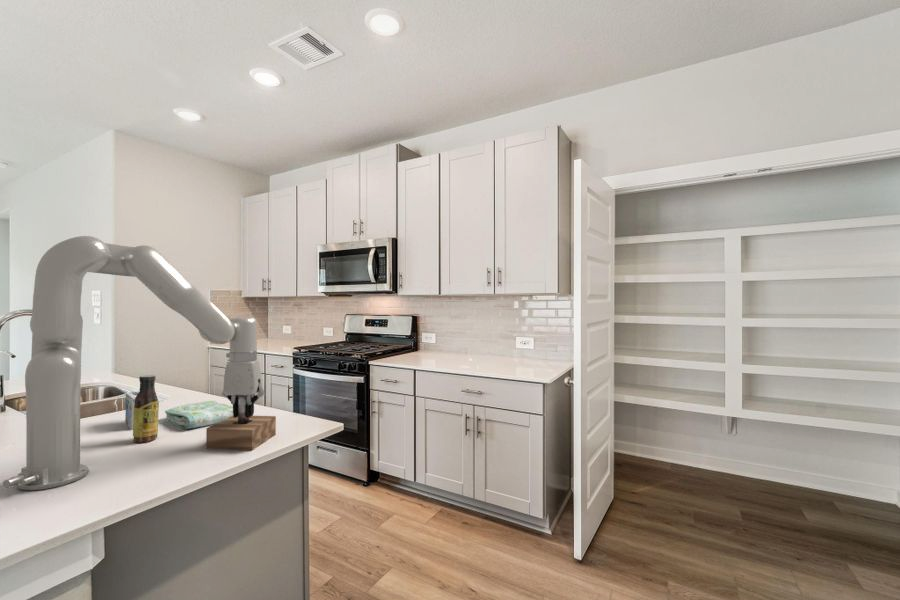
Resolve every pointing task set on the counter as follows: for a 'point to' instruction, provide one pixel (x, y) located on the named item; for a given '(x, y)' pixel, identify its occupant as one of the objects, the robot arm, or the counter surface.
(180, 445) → the counter surface
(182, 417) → the towel
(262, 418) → the socket block
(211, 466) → the counter surface
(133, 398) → the light bulb box
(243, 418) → the pin
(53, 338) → the robot arm
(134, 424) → the sauce bottle
